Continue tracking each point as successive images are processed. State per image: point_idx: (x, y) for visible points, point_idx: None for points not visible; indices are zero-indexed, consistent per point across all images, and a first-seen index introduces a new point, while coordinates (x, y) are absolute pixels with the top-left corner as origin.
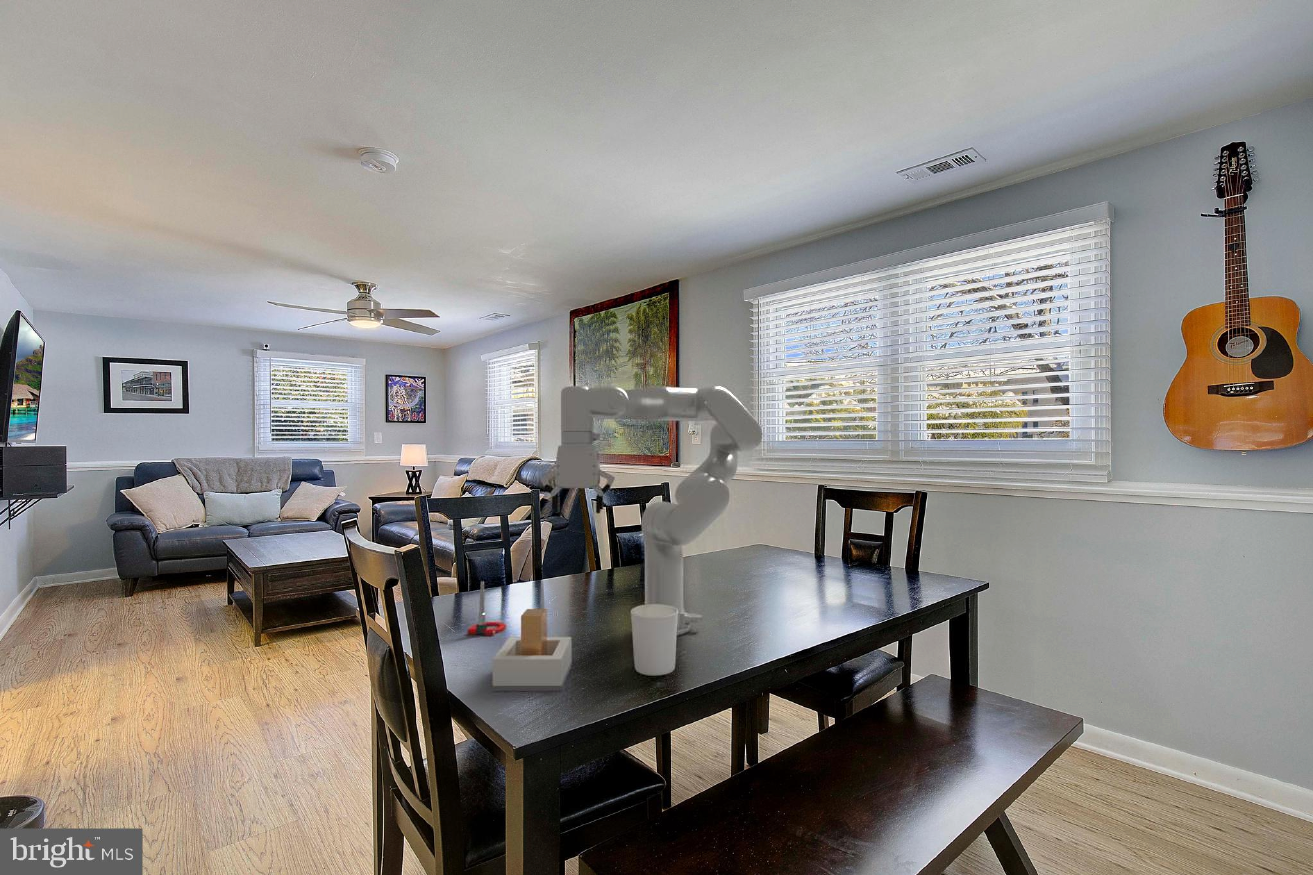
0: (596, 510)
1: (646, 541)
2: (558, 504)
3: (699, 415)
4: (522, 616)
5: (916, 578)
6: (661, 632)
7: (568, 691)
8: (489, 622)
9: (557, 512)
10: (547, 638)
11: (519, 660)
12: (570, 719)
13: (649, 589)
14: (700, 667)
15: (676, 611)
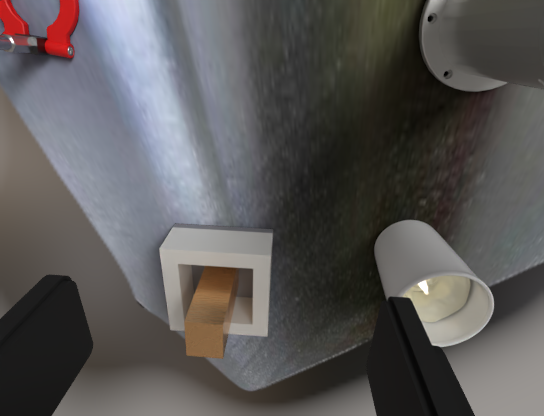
0: (372, 383)
1: None
2: (47, 374)
3: None
4: (189, 354)
5: None
6: (433, 322)
7: (279, 305)
8: None
9: (90, 351)
10: (229, 259)
11: None
12: (288, 360)
13: (497, 62)
14: (479, 247)
15: (487, 314)
